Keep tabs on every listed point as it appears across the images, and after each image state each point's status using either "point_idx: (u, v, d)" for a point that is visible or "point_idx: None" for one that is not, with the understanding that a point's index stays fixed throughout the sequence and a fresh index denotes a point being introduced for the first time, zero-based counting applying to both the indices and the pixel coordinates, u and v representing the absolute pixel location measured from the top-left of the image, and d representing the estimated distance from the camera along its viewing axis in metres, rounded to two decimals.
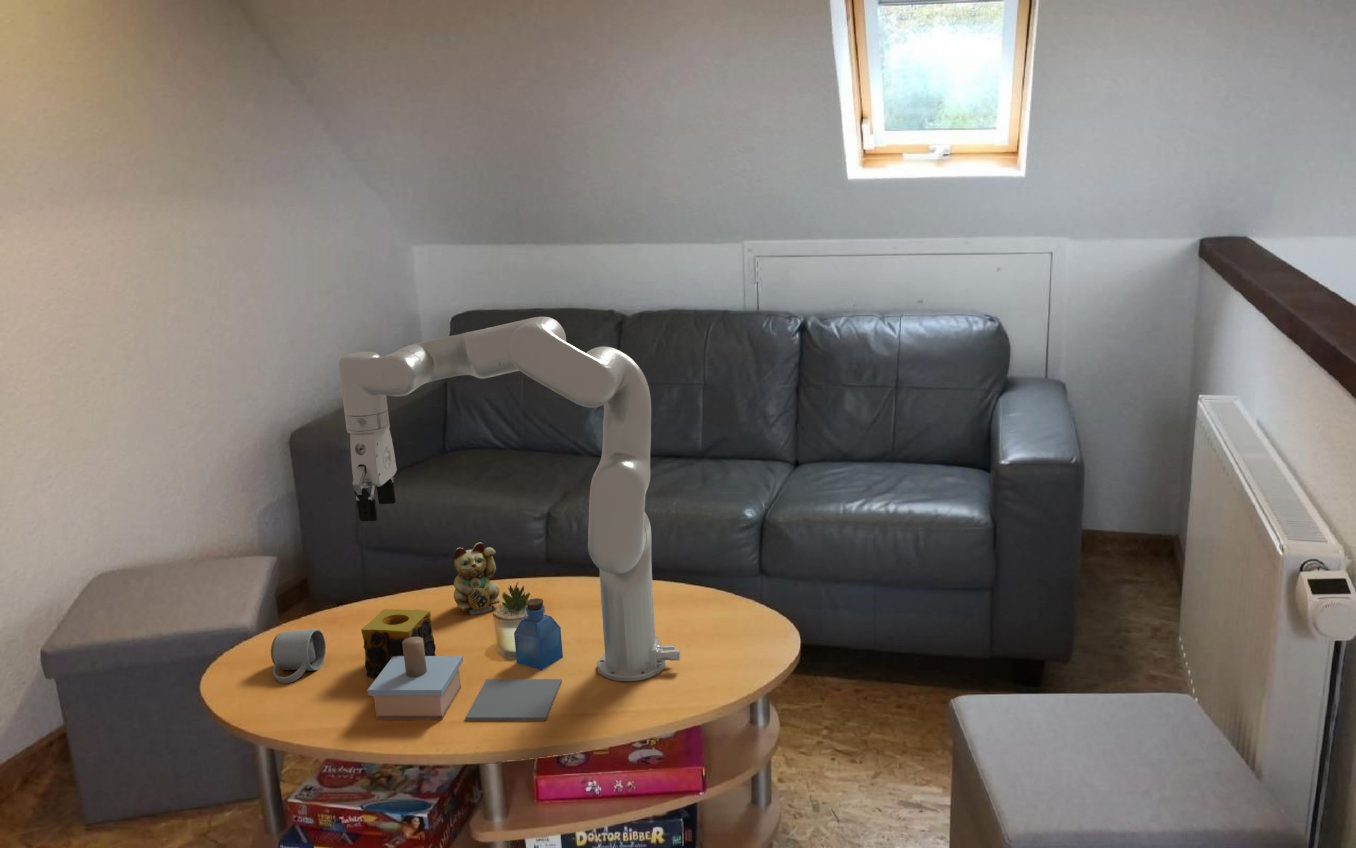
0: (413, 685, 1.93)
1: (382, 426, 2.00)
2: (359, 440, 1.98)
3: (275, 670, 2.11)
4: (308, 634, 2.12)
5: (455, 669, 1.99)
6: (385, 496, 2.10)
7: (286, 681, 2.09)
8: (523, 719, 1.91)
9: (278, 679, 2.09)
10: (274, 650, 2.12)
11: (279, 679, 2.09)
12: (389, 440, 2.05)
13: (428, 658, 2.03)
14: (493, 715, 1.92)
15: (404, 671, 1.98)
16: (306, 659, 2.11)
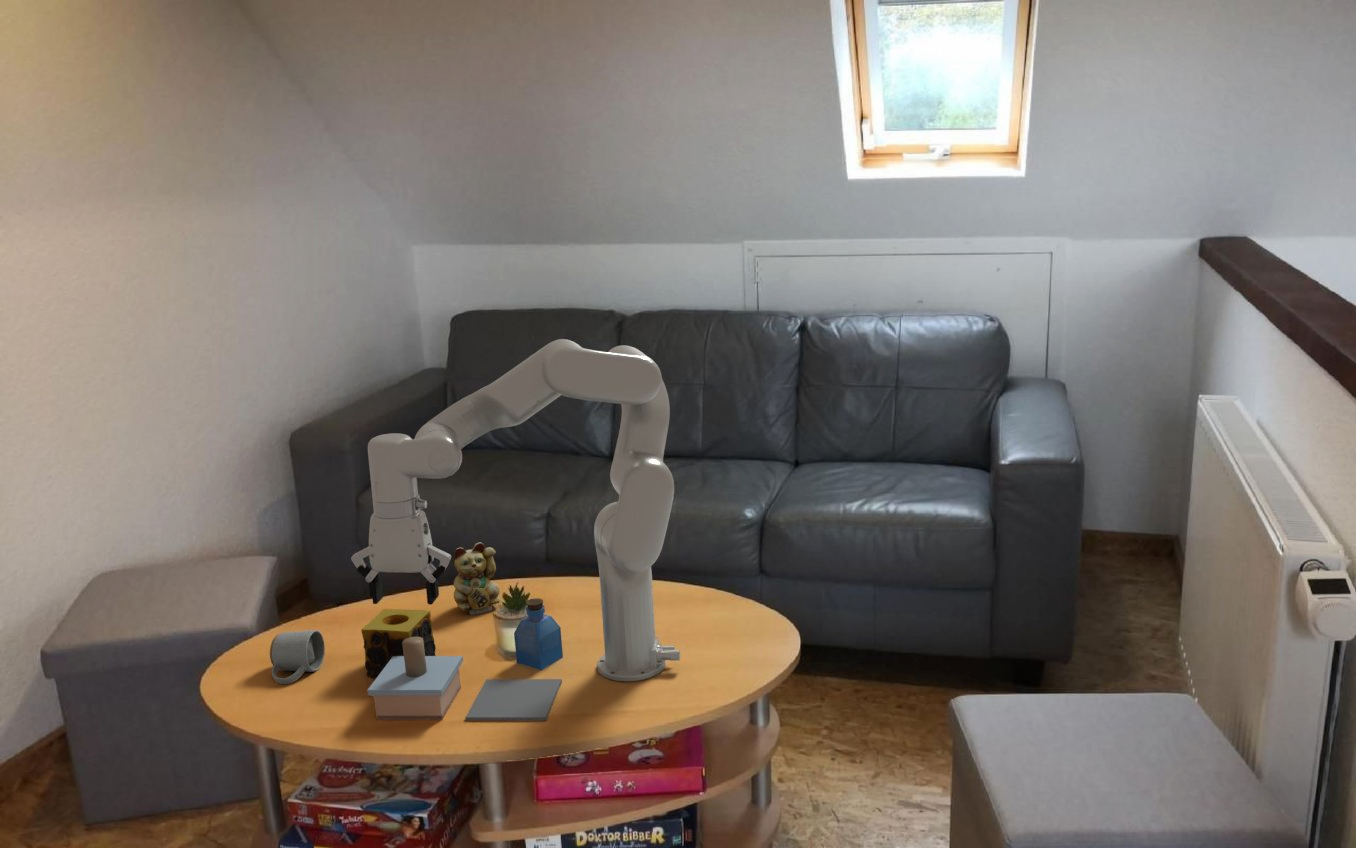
0: (413, 685, 1.93)
1: None
2: (423, 520, 1.90)
3: (274, 671, 2.11)
4: (307, 635, 2.12)
5: (455, 669, 1.99)
6: (379, 593, 1.94)
7: (285, 682, 2.09)
8: (523, 719, 1.91)
9: (277, 680, 2.09)
10: (273, 651, 2.11)
11: (278, 680, 2.09)
12: None
13: (428, 658, 2.03)
14: (493, 715, 1.92)
15: (404, 671, 1.98)
16: (305, 660, 2.10)
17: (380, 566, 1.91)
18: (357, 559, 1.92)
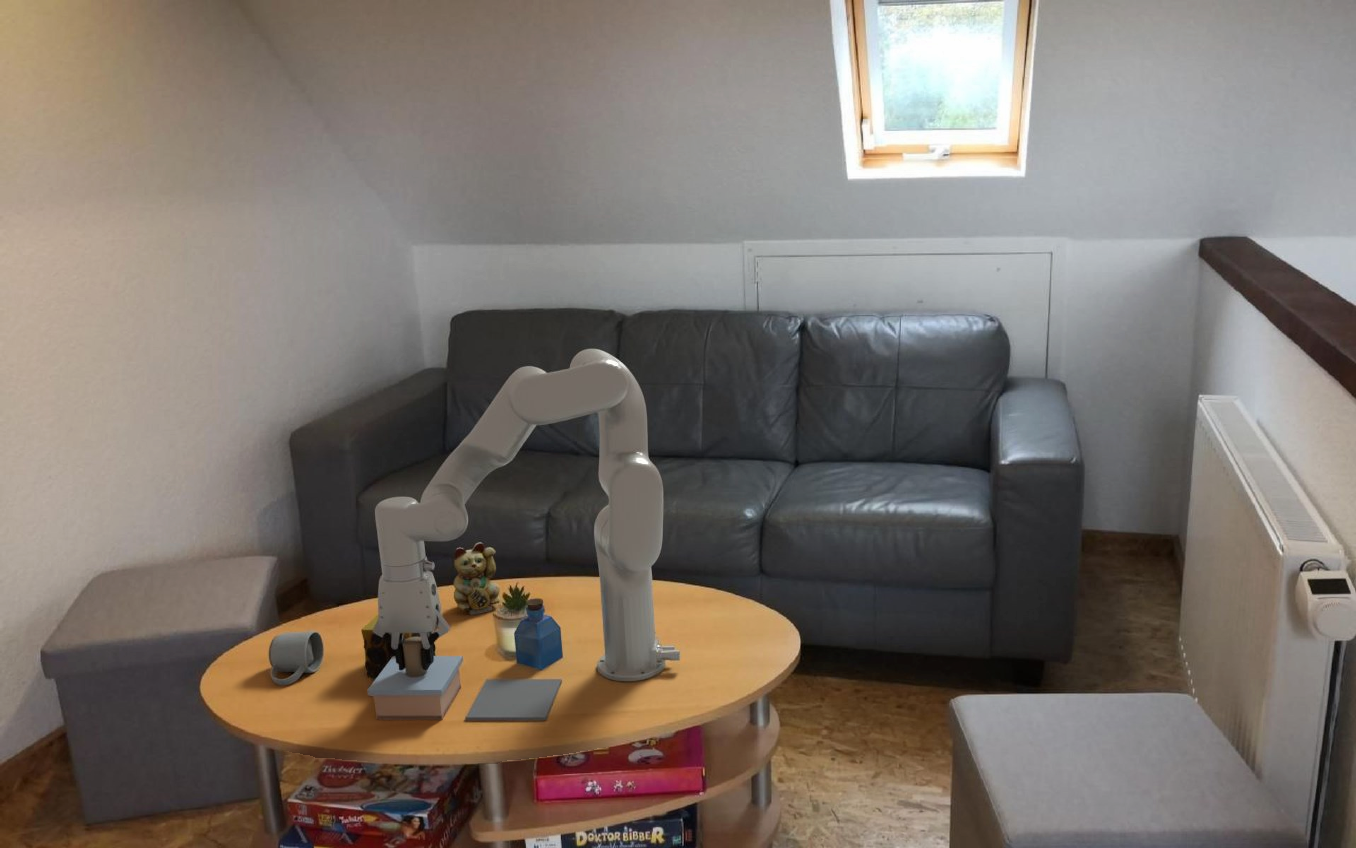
0: (413, 685, 1.93)
1: None
2: (431, 581, 1.93)
3: (273, 672, 2.10)
4: (306, 636, 2.11)
5: (455, 669, 1.99)
6: None
7: (284, 683, 2.08)
8: (523, 719, 1.91)
9: (276, 681, 2.08)
10: (272, 652, 2.11)
11: (277, 681, 2.08)
12: None
13: None
14: (493, 715, 1.92)
15: (404, 671, 1.98)
16: (304, 661, 2.10)
17: (390, 627, 1.93)
18: (378, 629, 1.95)
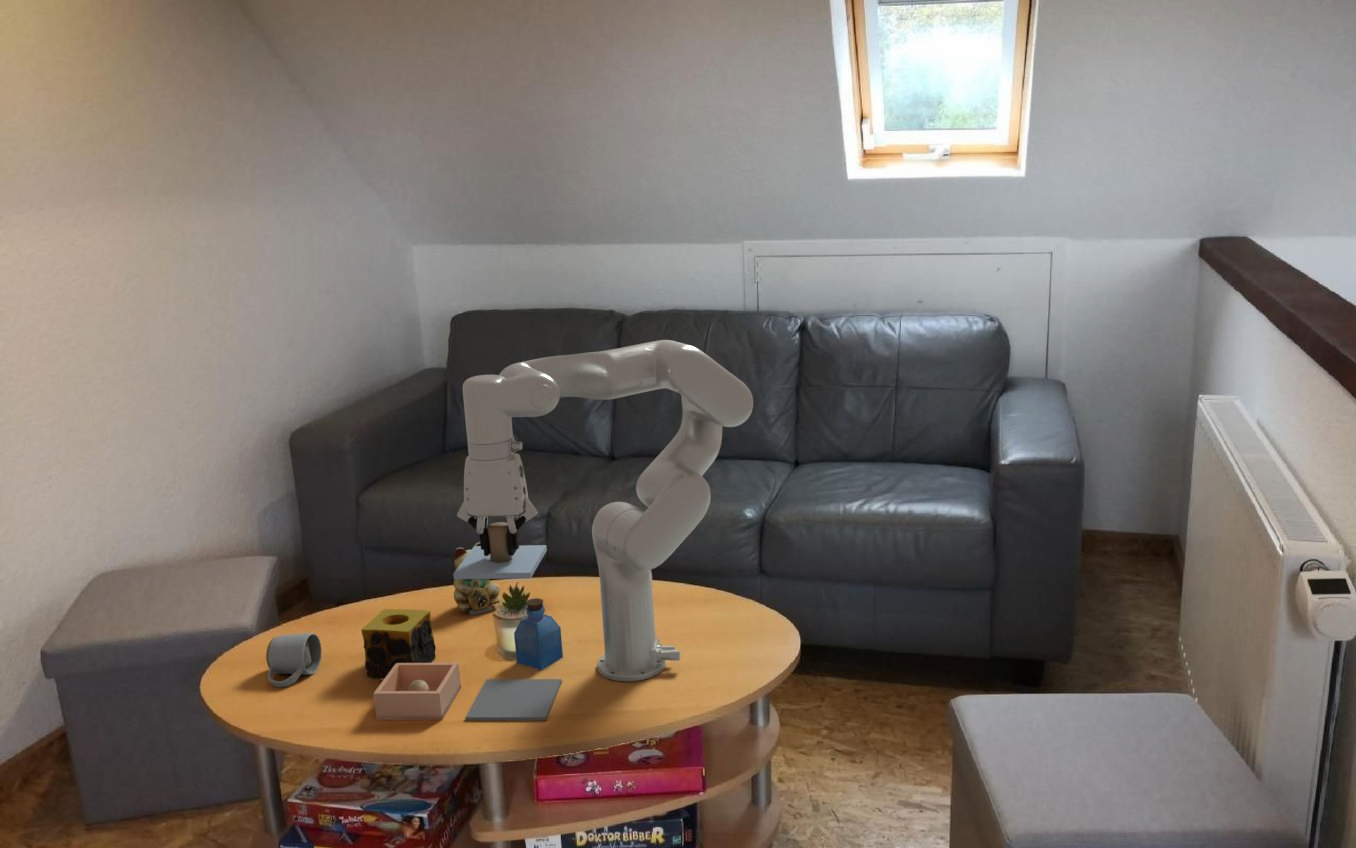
0: (500, 568, 1.87)
1: None
2: (519, 462, 1.87)
3: (270, 674, 2.09)
4: (304, 638, 2.11)
5: (540, 556, 1.93)
6: None
7: (281, 685, 2.08)
8: (523, 719, 1.91)
9: (273, 683, 2.08)
10: (270, 654, 2.10)
11: (274, 683, 2.08)
12: None
13: None
14: (493, 715, 1.92)
15: (488, 558, 1.92)
16: (302, 663, 2.09)
17: (475, 510, 1.88)
18: (463, 513, 1.90)
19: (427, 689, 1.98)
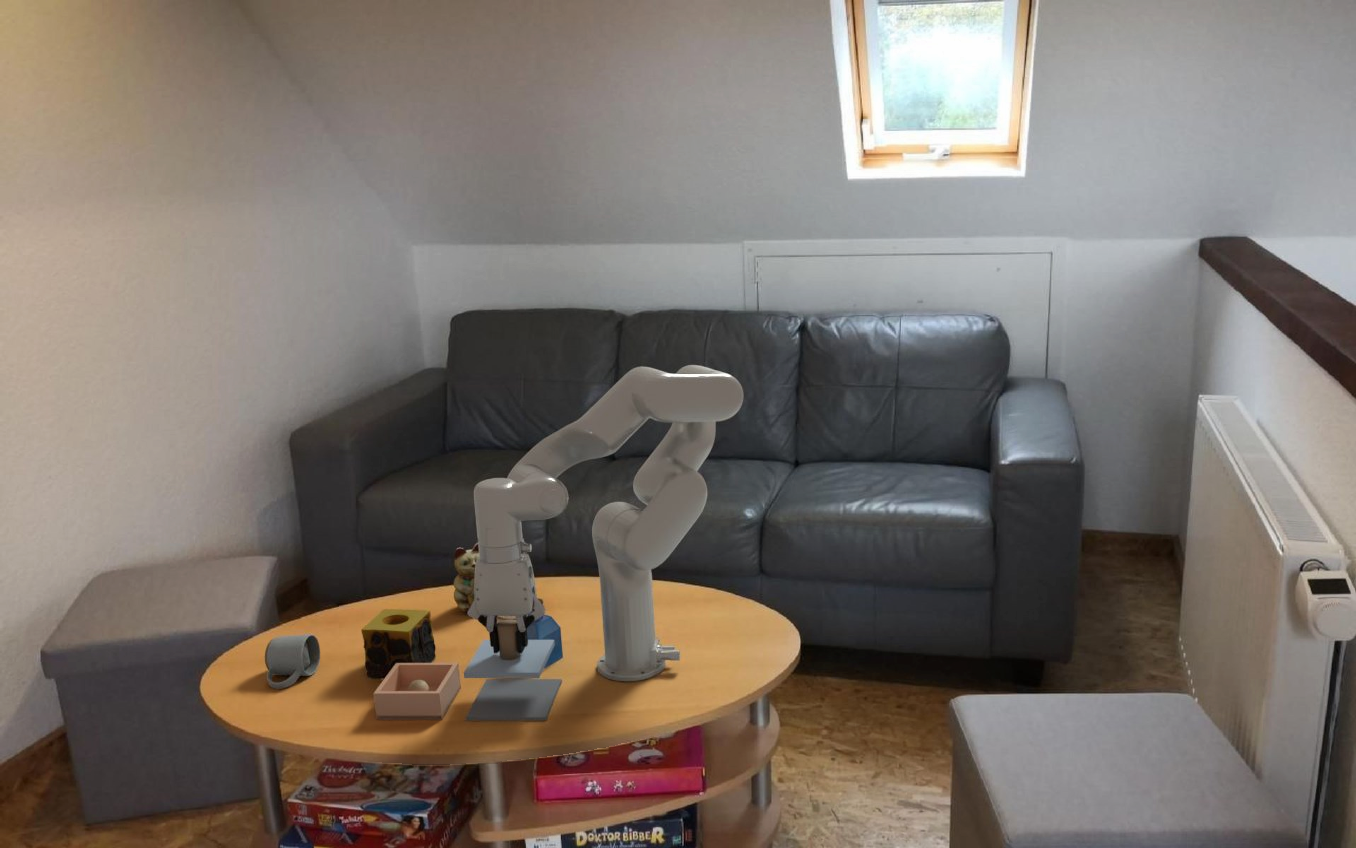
0: (509, 667, 1.91)
1: None
2: (528, 563, 1.91)
3: (269, 675, 2.09)
4: (303, 639, 2.10)
5: (549, 652, 1.97)
6: None
7: (280, 687, 2.07)
8: (523, 719, 1.91)
9: (272, 685, 2.07)
10: (268, 655, 2.10)
11: (273, 685, 2.07)
12: None
13: None
14: (493, 715, 1.92)
15: (497, 654, 1.97)
16: (300, 664, 2.08)
17: (486, 610, 1.92)
18: (473, 612, 1.94)
19: (427, 689, 1.98)
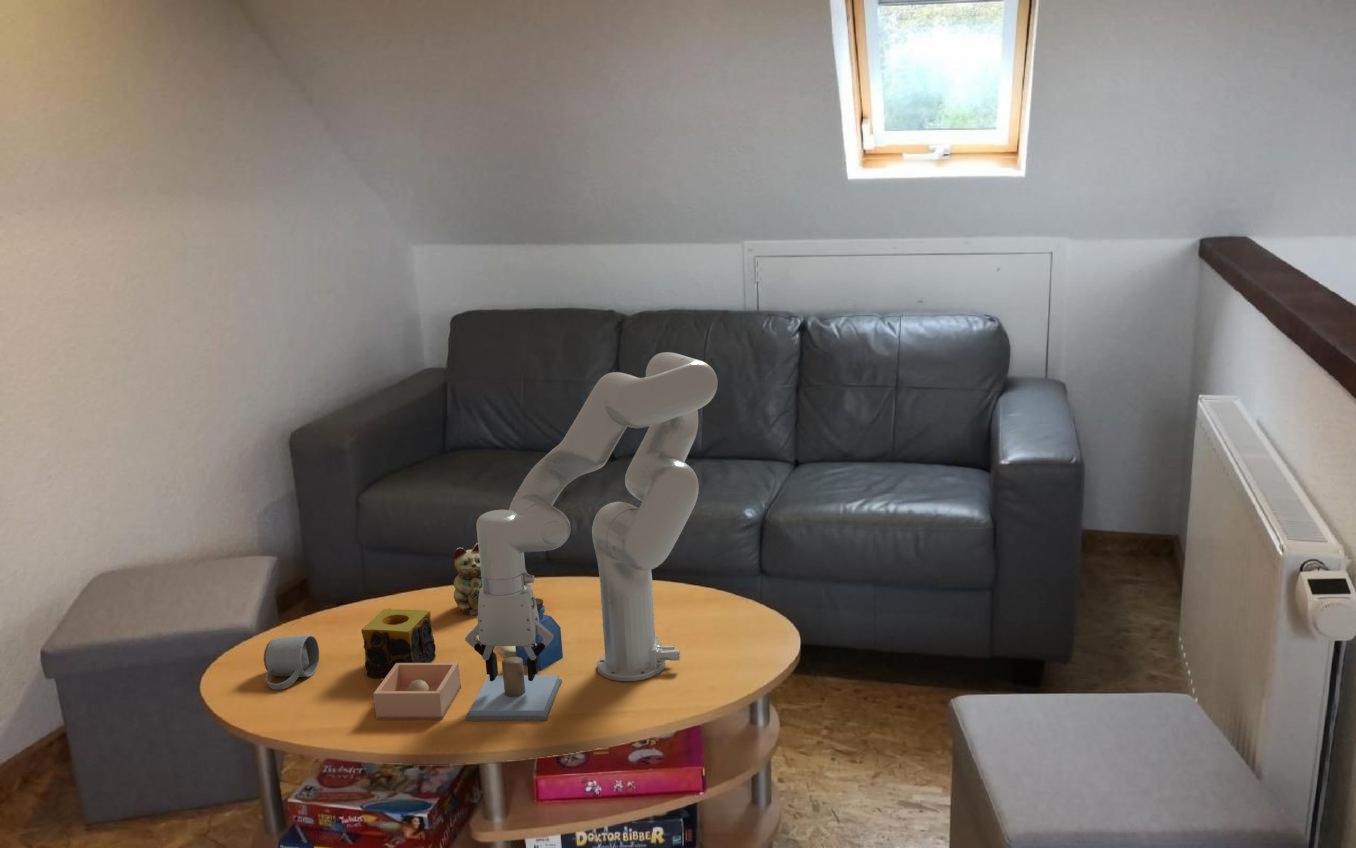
0: (514, 705, 1.93)
1: None
2: (531, 594, 1.93)
3: (268, 676, 2.09)
4: (302, 640, 2.10)
5: (553, 689, 1.99)
6: (495, 670, 1.97)
7: (279, 688, 2.07)
8: (523, 719, 1.91)
9: (271, 686, 2.07)
10: (267, 656, 2.09)
11: (272, 686, 2.07)
12: None
13: (524, 677, 2.03)
14: None
15: (502, 691, 1.99)
16: (299, 665, 2.08)
17: (489, 640, 1.93)
18: (471, 639, 1.95)
19: (427, 689, 1.98)
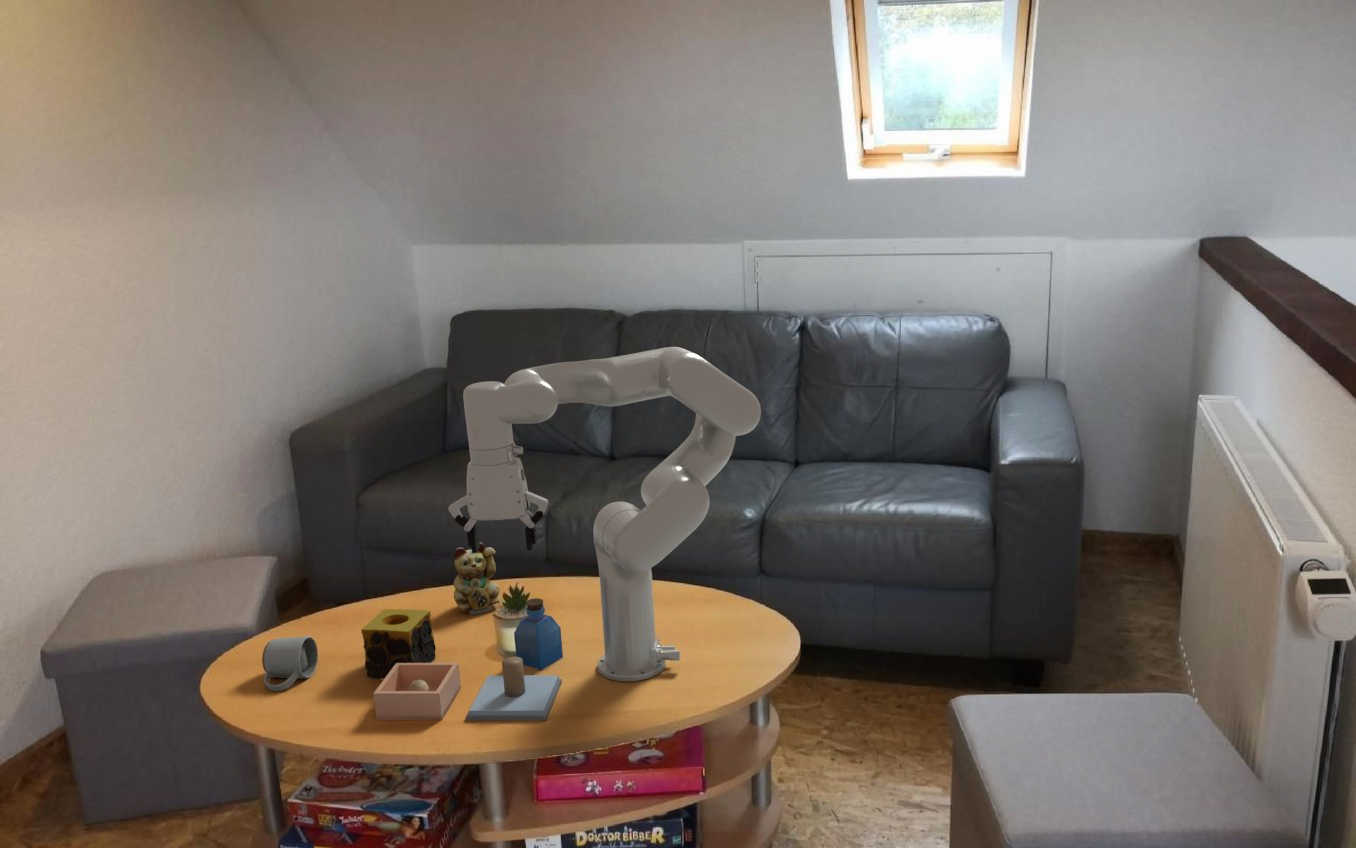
0: (514, 705, 1.93)
1: None
2: (520, 466, 1.91)
3: (266, 678, 2.08)
4: (300, 641, 2.09)
5: (553, 689, 1.99)
6: (477, 542, 1.95)
7: (277, 689, 2.06)
8: (523, 719, 1.91)
9: (269, 687, 2.06)
10: (266, 657, 2.09)
11: (270, 687, 2.06)
12: None
13: (524, 677, 2.03)
14: None
15: (502, 691, 1.99)
16: (298, 667, 2.08)
17: (479, 514, 1.92)
18: (454, 509, 1.93)
19: (427, 689, 1.98)
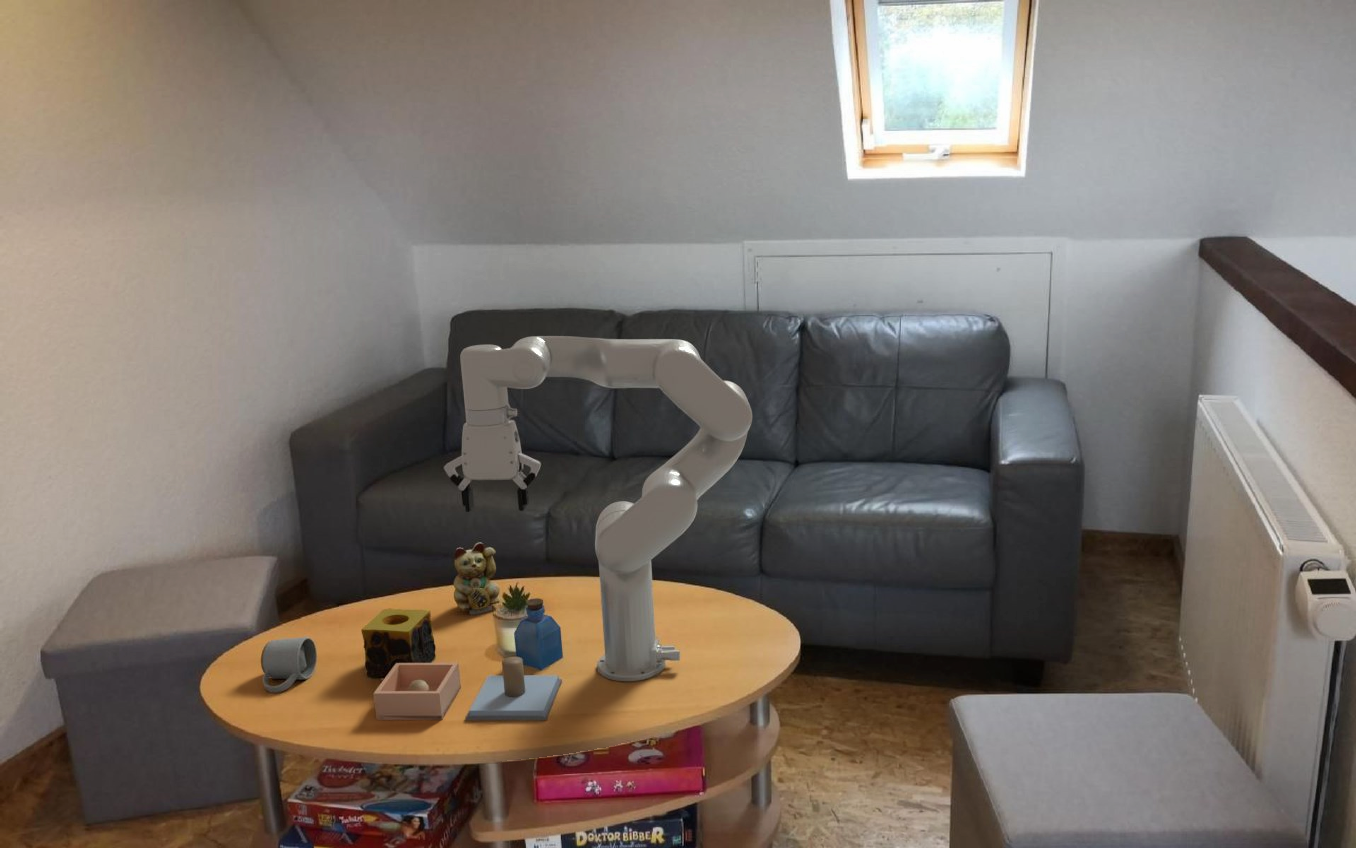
0: (514, 705, 1.93)
1: None
2: (514, 428, 1.96)
3: (265, 679, 2.08)
4: (299, 642, 2.09)
5: (553, 689, 1.99)
6: (471, 501, 2.00)
7: (276, 690, 2.06)
8: (523, 719, 1.91)
9: (268, 688, 2.06)
10: (264, 658, 2.08)
11: (269, 688, 2.06)
12: None
13: (524, 677, 2.03)
14: None
15: (502, 691, 1.99)
16: (296, 668, 2.07)
17: (473, 474, 1.97)
18: (450, 468, 1.99)
19: (427, 689, 1.98)
